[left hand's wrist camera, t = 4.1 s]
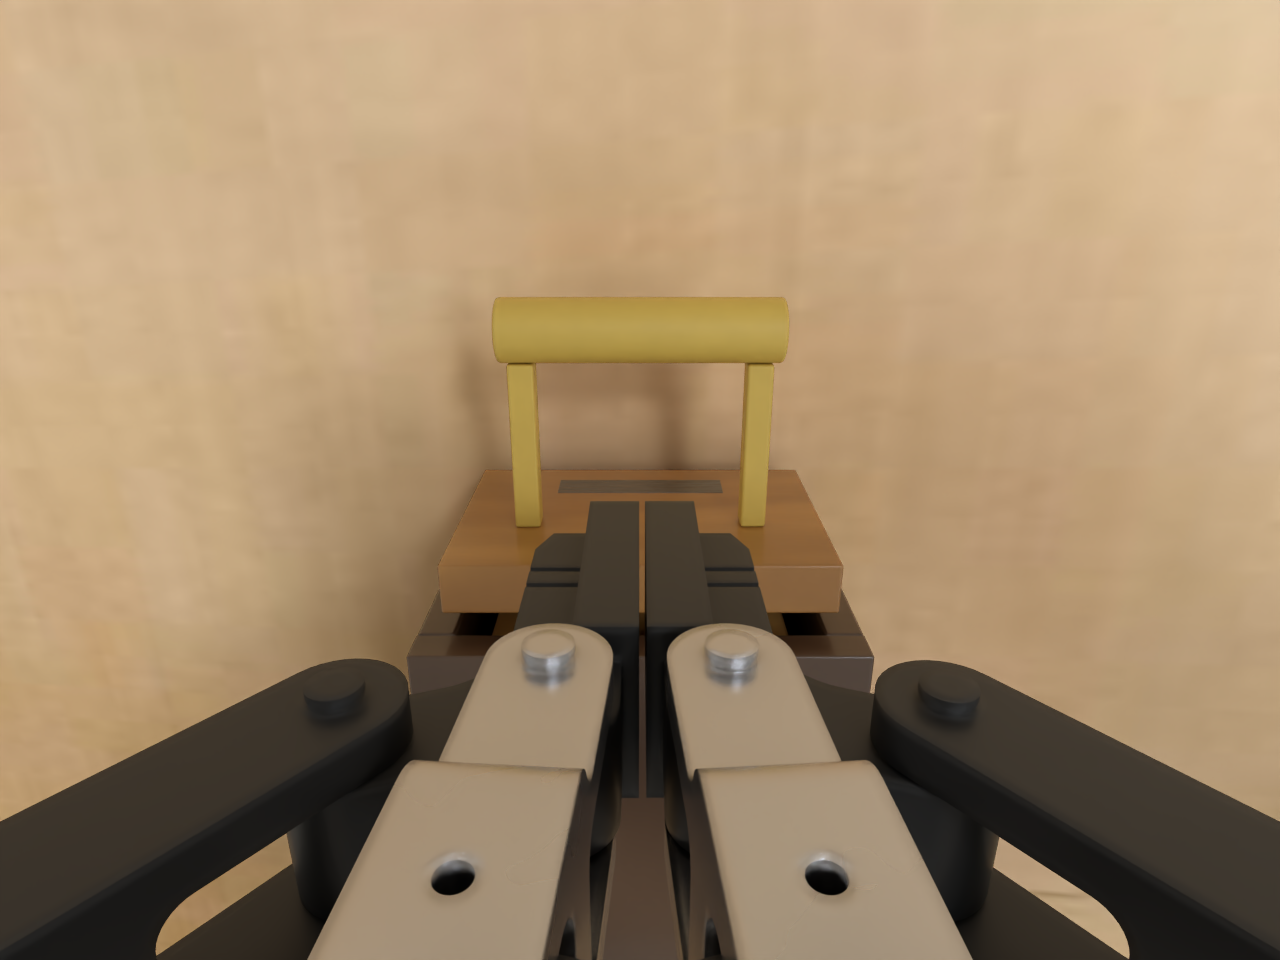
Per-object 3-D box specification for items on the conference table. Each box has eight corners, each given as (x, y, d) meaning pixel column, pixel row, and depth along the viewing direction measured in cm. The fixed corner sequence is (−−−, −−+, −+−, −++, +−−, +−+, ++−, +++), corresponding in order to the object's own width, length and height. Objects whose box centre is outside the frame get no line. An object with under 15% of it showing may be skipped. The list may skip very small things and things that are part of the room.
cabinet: (474, 510, 25) (405, 656, 18) (806, 510, 25) (875, 656, 18) (512, 988, 32) (475, 1230, 25) (768, 988, 32) (805, 1231, 25)
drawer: (470, 275, 22) (411, 316, 16) (809, 275, 22) (868, 315, 16) (520, 957, 31) (493, 1135, 25) (760, 956, 31) (786, 1134, 25)
